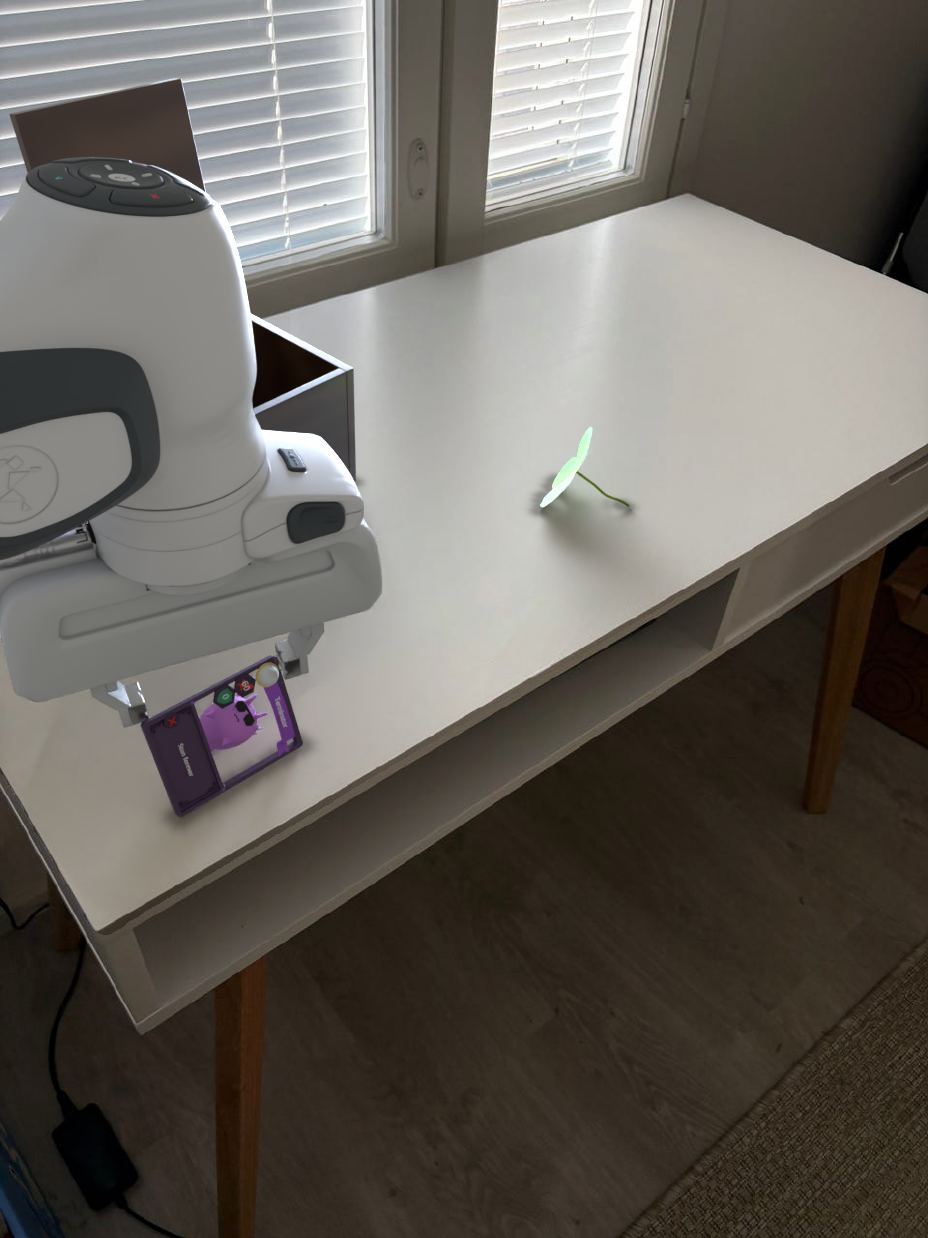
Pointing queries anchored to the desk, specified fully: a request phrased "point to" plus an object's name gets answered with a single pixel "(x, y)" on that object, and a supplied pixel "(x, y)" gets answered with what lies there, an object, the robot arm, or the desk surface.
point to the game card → (217, 734)
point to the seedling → (573, 472)
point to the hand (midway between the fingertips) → (215, 692)
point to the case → (303, 391)
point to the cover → (115, 129)
